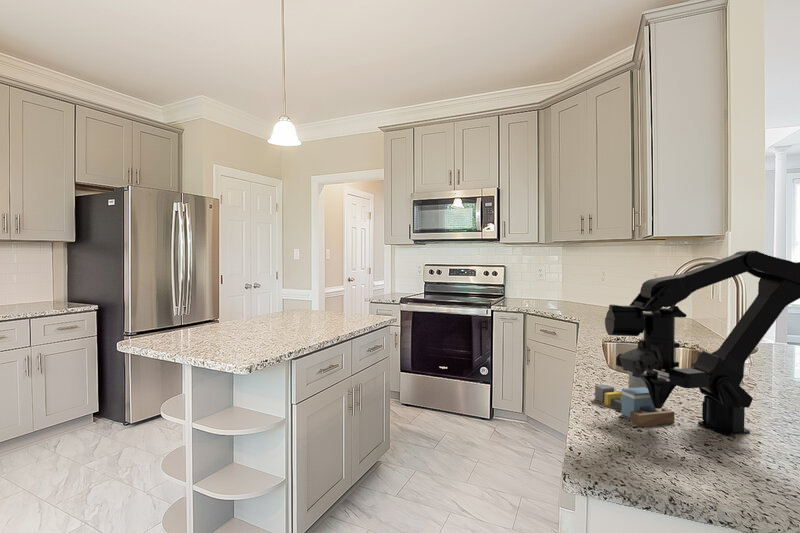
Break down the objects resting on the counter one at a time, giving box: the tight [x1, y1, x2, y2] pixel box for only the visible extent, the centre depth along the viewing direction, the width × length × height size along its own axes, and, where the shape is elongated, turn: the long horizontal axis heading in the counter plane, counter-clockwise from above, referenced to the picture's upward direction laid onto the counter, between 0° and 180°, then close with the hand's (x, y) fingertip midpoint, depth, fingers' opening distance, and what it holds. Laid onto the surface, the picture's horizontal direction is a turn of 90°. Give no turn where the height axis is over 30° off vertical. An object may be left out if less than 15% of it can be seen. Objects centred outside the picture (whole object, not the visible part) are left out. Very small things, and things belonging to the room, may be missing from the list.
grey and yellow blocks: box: [594, 384, 649, 413], centre depth 97 cm, size 16×4×4 cm, turn 14°
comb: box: [629, 407, 675, 427], centre depth 90 cm, size 2×9×2 cm, turn 104°
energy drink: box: [627, 348, 647, 388], centre depth 108 cm, size 5×5×12 cm
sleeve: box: [620, 387, 657, 419], centre depth 93 cm, size 4×6×6 cm, turn 104°
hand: (657, 407), depth 88 cm, fingers closed
